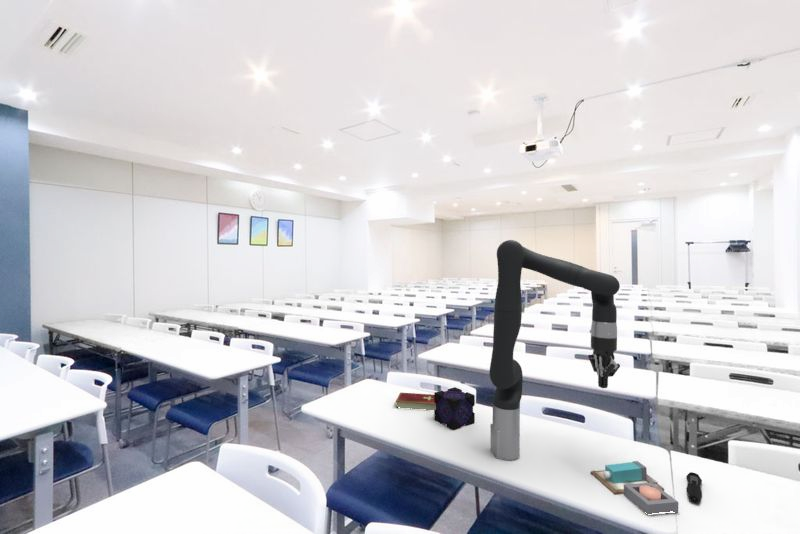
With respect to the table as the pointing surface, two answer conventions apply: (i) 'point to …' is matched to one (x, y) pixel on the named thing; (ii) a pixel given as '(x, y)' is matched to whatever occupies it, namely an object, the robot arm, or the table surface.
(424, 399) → the hardcover book
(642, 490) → the brown egg
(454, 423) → the energy cube
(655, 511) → the collar
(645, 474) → the teal rectangular block
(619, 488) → the clipboard
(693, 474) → the electric trimmer
